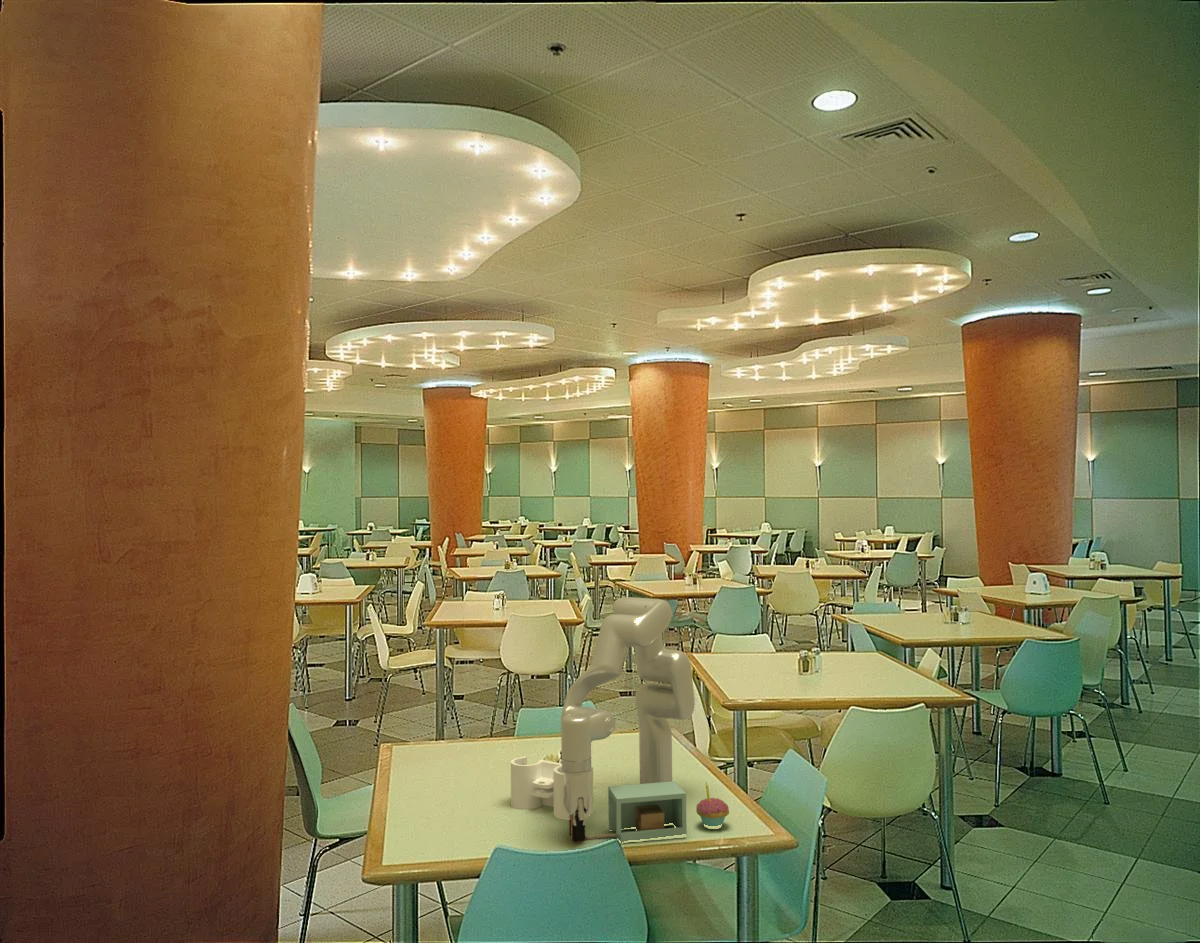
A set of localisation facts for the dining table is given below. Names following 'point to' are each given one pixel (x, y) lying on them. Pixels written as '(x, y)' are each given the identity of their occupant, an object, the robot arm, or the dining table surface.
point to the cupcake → (712, 810)
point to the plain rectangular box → (648, 794)
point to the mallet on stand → (638, 821)
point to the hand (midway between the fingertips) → (577, 837)
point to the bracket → (542, 786)
